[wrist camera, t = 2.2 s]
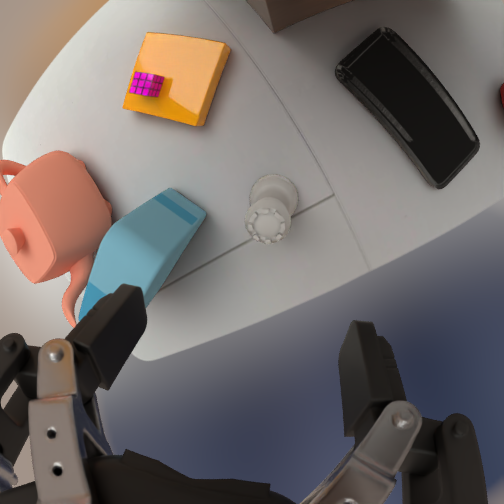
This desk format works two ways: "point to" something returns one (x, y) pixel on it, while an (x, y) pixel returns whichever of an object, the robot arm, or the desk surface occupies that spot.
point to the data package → (143, 247)
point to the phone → (410, 105)
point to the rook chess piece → (271, 208)
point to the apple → (502, 93)
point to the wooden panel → (290, 10)
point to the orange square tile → (176, 77)
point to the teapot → (53, 221)
